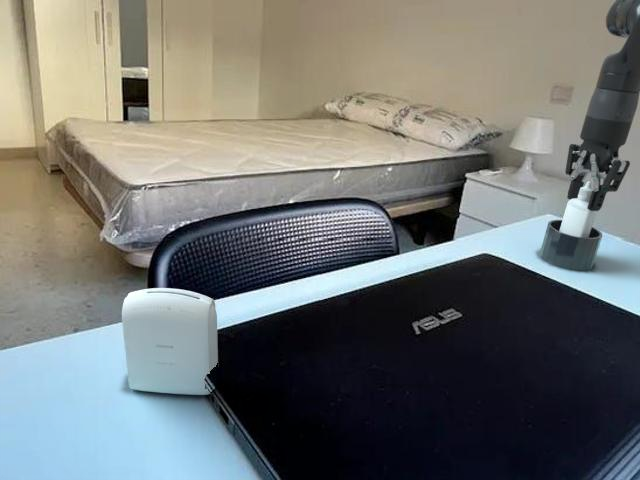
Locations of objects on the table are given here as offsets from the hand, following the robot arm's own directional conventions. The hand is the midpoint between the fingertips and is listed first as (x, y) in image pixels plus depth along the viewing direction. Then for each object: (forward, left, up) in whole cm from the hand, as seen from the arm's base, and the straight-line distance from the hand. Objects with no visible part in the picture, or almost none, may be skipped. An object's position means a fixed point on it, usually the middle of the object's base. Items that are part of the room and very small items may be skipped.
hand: (582, 204), depth 96 cm
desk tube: (0, 0, -12) cm, 12 cm away
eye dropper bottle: (0, 0, -8) cm, 8 cm away
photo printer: (+73, +33, -12) cm, 81 cm away
